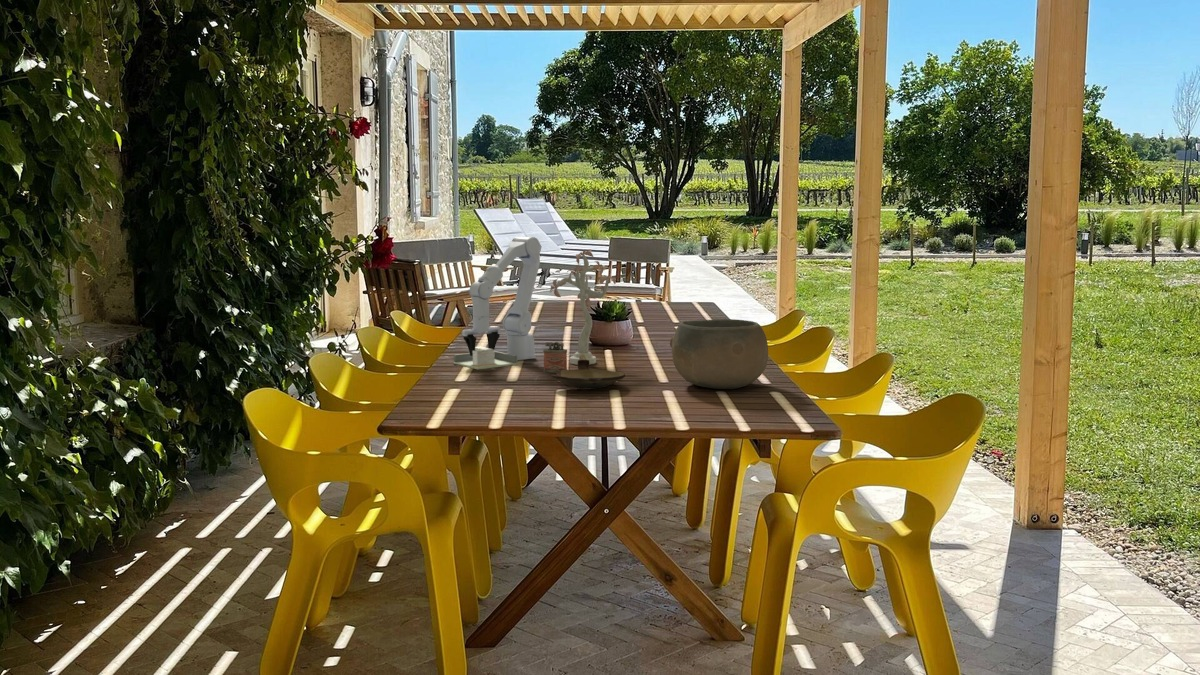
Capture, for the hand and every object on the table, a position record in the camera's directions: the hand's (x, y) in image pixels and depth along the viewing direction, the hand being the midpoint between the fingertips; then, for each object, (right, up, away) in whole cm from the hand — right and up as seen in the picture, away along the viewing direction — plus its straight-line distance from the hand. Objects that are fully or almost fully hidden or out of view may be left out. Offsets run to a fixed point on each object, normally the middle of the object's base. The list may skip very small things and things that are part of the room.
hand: (481, 354), depth 349 cm
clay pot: (+78, -9, -42) cm, 89 cm away
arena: (+1, -3, +1) cm, 3 cm away
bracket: (-1, -3, -2) cm, 3 cm away
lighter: (+26, -6, -15) cm, 31 cm away
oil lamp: (+39, -9, -41) cm, 57 cm away
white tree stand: (+36, -3, +4) cm, 36 cm away
